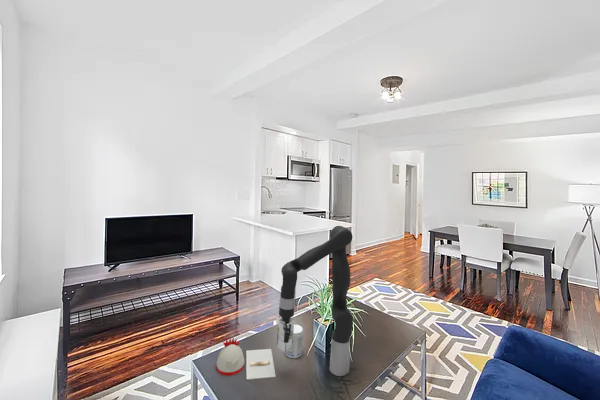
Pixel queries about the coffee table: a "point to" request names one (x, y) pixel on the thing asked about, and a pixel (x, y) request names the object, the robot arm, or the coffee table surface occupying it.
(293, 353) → the supplement tub
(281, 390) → the coffee table surface
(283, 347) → the syrup box
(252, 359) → the white rectangular board
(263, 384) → the coffee table surface
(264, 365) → the beech stop strip
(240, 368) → the kitchen timer
